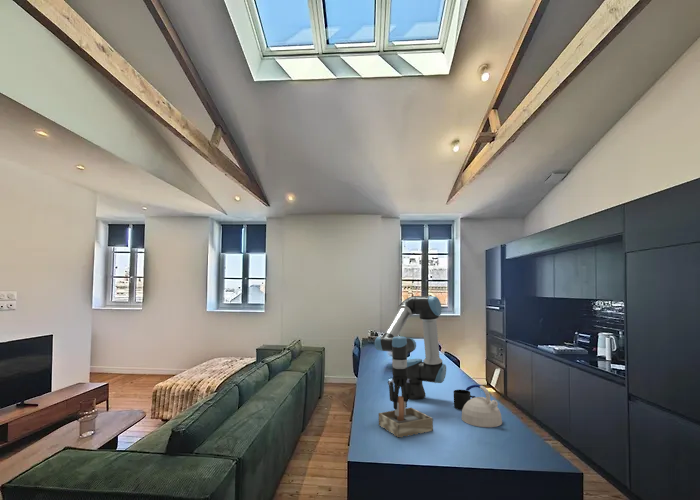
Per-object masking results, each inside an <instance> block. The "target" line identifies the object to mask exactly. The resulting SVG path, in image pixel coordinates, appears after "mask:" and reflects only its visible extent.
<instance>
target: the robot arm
mask: <svg viewBox="0 0 700 500" xmlns="http://www.w3.org/2000/svg"><path fill="white" fill-rule="evenodd" d="M442 310H443V309H442V303H441V301H440V299H439V298H438V297H437V296H433V295H413V296H410V297H407V298H405V299H404V300H403V301H402V302H401V303H399V305H398V307H397V309H396V313H395V314H394V317H393V318H392V320H391V322H390V323H389V325H388V327H387V328H386V330H385V331H384V333H383V335H381V336H377V337H376V338H375V339H374V348H375V349H376V350H377V351H381V352H391V353H392V354H391V355H392V358H391V361H392V364H391V365H392V373H391V374H392V379H391V380H389V381H387V385H388V391H389V401H390V402H392V403H393V404H392V405H393V409H394V410H395V415H396V416H399V403H398V396H399V392H400V391H401V396H403V398H404V415H406V408H408V402H409V400H410V401H411V400H413V401H417V400H423V399H425V398H426V391H425V388H424V385H423V382H428V383H434V384H442V383H444V381H445V379H446V376H447V365H446V364H445V363H443V359H442V358H441V357H440V347H439V345H440V344H439V337H438V321H437V320H438V319H439V317H440V316H441V314H442ZM414 315H415V316H416V315H417V316H419V319H420V320H421V321H422V330H423V331H422V333H423V342H424V354H425V355H424V356H425V358H424V359H422V358H410V359H408V354H409V353H412V352H414V351H415V350H416V349H417V342H416V340H415V339H414V338H411V337H406V336H400V334H401V332H402V329H403V328H404V327H405V324H406V322H407V321H408V319H410V318H411V317H412V316H414Z"/></svg>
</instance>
